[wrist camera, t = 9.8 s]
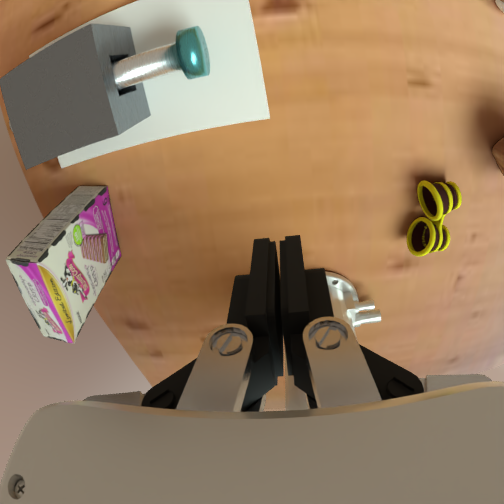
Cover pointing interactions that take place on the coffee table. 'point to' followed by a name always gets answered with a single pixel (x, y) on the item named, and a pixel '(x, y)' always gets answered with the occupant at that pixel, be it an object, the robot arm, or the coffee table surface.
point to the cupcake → (499, 154)
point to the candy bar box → (67, 262)
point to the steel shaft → (165, 60)
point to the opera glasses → (433, 217)
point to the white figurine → (500, 5)
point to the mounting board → (176, 84)
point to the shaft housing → (72, 94)
